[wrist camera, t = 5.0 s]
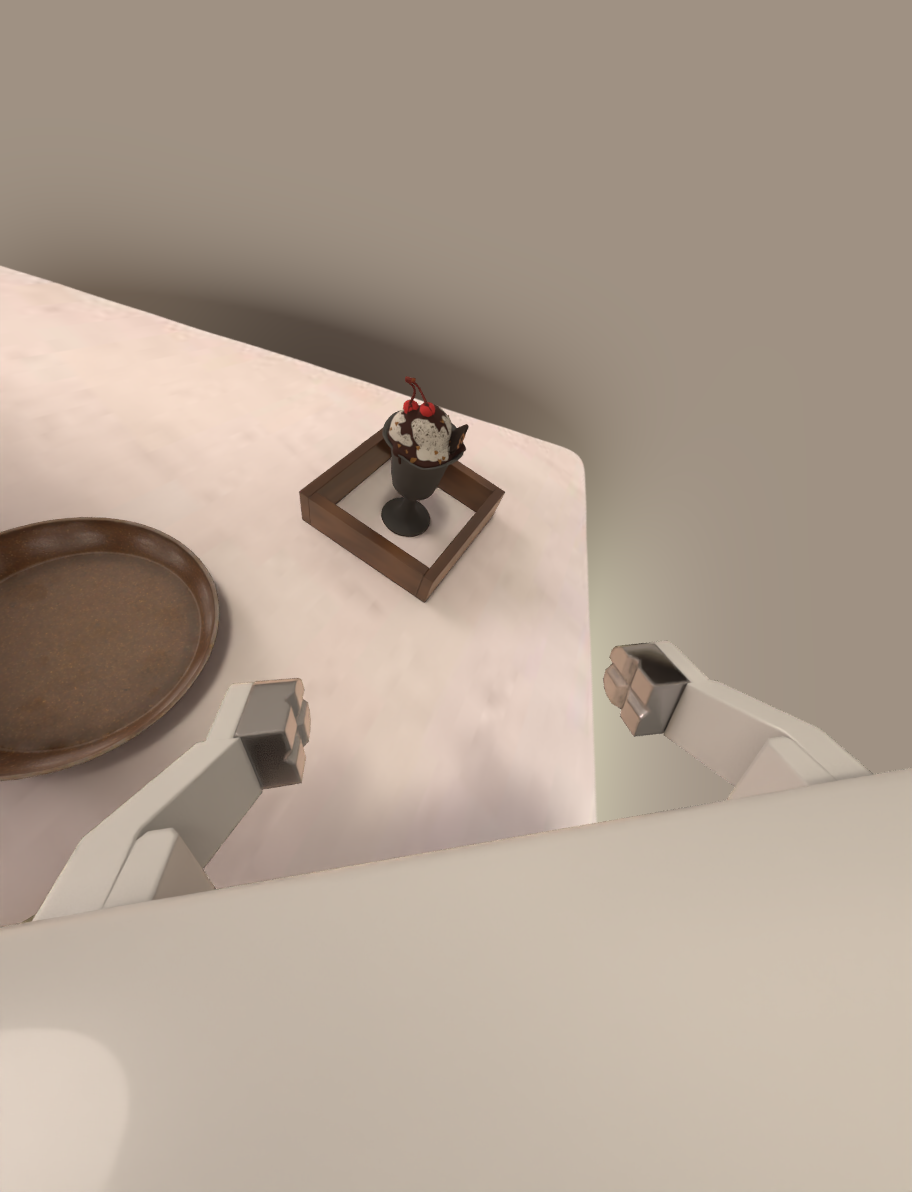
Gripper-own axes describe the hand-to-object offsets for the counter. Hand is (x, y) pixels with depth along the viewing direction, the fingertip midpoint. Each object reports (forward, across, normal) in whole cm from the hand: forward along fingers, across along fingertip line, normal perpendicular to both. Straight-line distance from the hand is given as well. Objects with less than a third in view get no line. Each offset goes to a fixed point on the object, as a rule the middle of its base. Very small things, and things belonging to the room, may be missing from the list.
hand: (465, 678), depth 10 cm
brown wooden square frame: (+31, 0, +8) cm, 32 cm away
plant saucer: (+18, +23, +11) cm, 32 cm away
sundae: (+31, 0, +8) cm, 32 cm away
